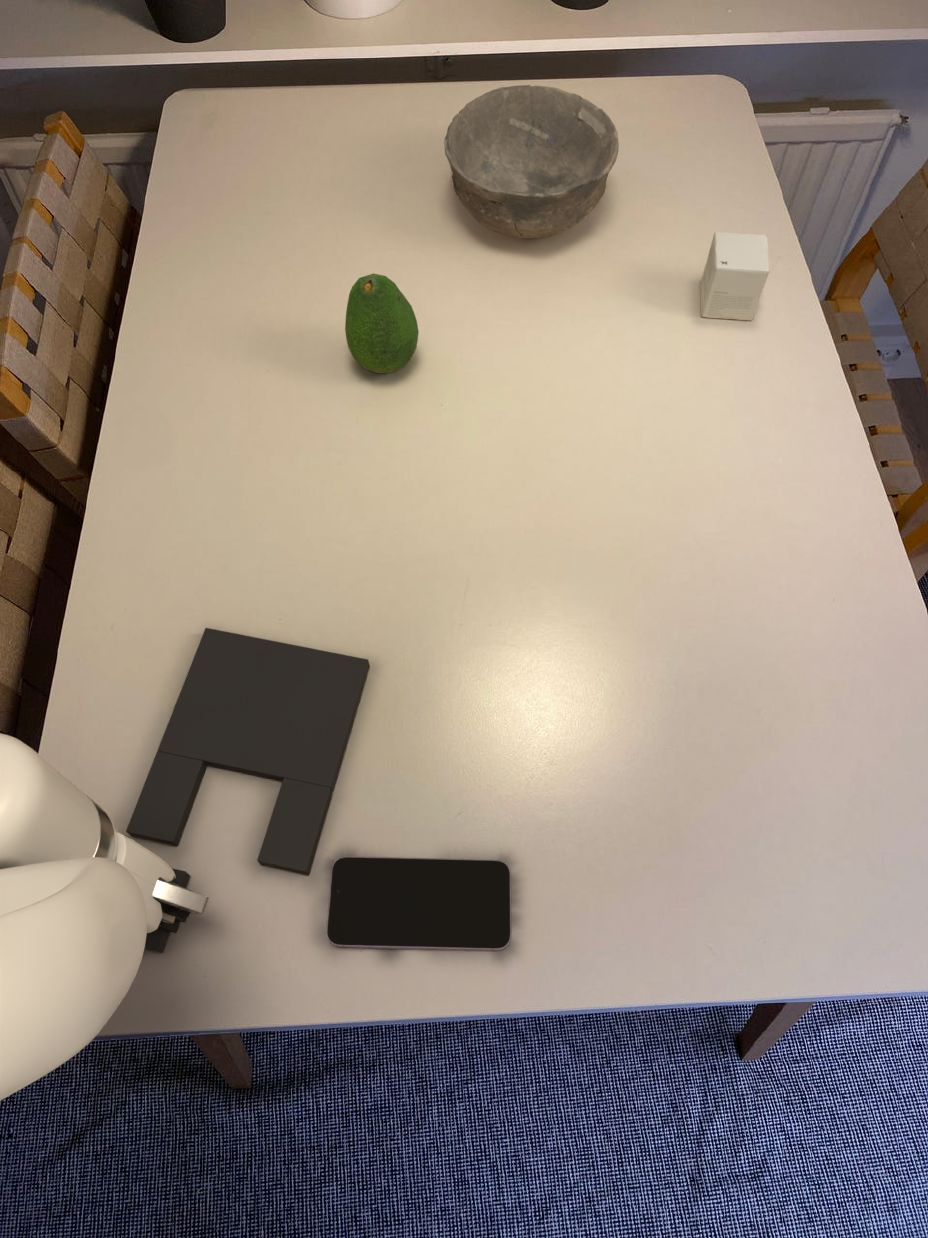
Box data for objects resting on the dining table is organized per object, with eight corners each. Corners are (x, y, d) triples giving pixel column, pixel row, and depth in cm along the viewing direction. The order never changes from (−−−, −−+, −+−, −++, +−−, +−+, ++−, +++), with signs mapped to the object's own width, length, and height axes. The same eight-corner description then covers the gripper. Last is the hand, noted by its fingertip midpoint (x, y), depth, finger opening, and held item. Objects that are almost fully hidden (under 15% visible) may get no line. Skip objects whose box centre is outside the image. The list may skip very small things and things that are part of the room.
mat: (309, 876, 78) (306, 872, 76) (130, 836, 79) (125, 831, 78) (370, 666, 87) (368, 659, 85) (209, 634, 88) (205, 627, 87)
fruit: (425, 386, 103) (420, 304, 92) (354, 395, 102) (341, 313, 92) (415, 334, 107) (410, 249, 96) (347, 342, 106) (334, 257, 95)
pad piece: (163, 953, 74) (146, 944, 70) (89, 936, 75) (68, 926, 71) (190, 875, 77) (175, 862, 73) (119, 859, 78) (101, 845, 74)
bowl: (441, 160, 121) (440, 86, 112) (596, 154, 122) (607, 79, 113) (450, 270, 112) (448, 198, 103) (618, 263, 112) (631, 191, 103)
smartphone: (511, 950, 74) (324, 946, 74) (510, 952, 75) (326, 948, 75) (510, 859, 77) (332, 855, 77) (509, 862, 78) (333, 858, 78)
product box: (752, 322, 107) (770, 272, 101) (699, 318, 108) (714, 267, 101) (750, 285, 110) (768, 233, 104) (699, 281, 111) (713, 229, 104)
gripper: (-98, 876, 59) (21, 927, 75) (156, 935, 57) (223, 975, 73) (-43, 767, 63) (60, 838, 78) (197, 819, 61) (253, 881, 77)
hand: (138, 903), depth 76 cm, fingers closed on pad piece, 6 cm apart
